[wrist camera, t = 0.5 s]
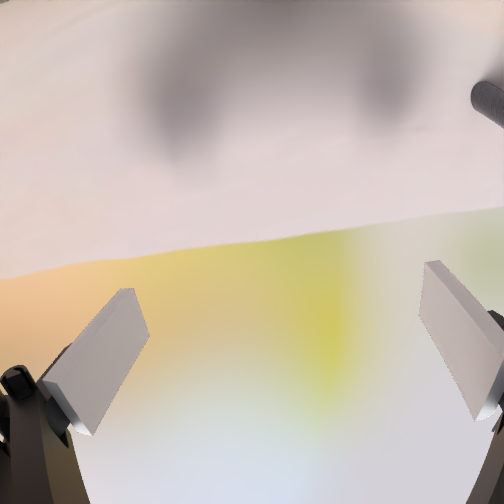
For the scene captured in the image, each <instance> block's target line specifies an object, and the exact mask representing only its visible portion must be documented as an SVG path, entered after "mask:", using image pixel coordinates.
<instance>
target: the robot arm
mask: <svg viewBox="0 0 504 504" xmlns="http://www.w3.org/2000/svg"><path fill="white" fill-rule="evenodd" d="M7 1H9V0H0V4H1V3H4V2H7ZM419 317H420V319H421V320H422V322H423V324H424V325H425V327H426V329H427V330H428V332H429V334H430V336H431V337H432V339H433V341H434V343H435V344H436V346H437V348H438V350H439V352H440V354H441V355H442V357H443V359H444V361H445V363H446V365H447V367H448V368H449V370H450V372H451V374H452V376H453V378H454V380H455V382H456V384H457V386H458V388H459V390H460V392H461V394H462V396H463V398H464V400H465V402H466V404H467V406H468V409H469V410H470V413H471V415H472V417H473V419H474V421H475V422H476V421H479V420H481V419H484V418H487V417H490V416H492V415H493V413H494V411H495V410H496V408H497V406H498V404H499V405H500V407H501V408H502V411H503V412H502V414H501V416H500V417H499V419H498V421H497V422H496V424H495V426H494V428H493V429H492V432H494V431H495V433H494V436H493V440H492V442H491V445H490V448H489V451H488V453H487V456H486V459H485V461H484V464H483V466H482V469H481V471H480V474H479V476H478V478H477V481H476V483H475V485H474V488H473V490H472V492H471V494H470V496H469V498H468V500H467V502H466V504H504V317H503V316H501V315H500V314H498V313H496V312H495V311H493V310H491V311H486V310H485V309H484V307H483V306H482V305H481V304H480V303H479V302H478V301H477V300H476V298H475V297H474V296H473V295H472V294H471V293H470V292H469V291H468V290H467V289H466V287H465V286H464V285H463V284H462V283H461V282H460V281H459V280H458V279H457V278H456V277H455V276H454V275H453V274H452V273H451V272H450V270H449V269H448V268H447V267H446V266H445V265H444V264H443V263H442V262H441V261H439V260H438V261H430V262H425V264H424V276H423V287H422V295H421V303H420V311H419ZM149 337H150V334H149V332H148V329H147V326H146V323H145V320H144V318H143V315H142V312H141V309H140V306H139V303H138V300H137V297H136V294H135V291H134V288H125V289H120V290H119V291H118V292H117V293H116V294H115V295H114V296H113V297H112V298H111V300H110V301H109V302H108V303H107V304H106V305H105V306H104V307H103V308H102V310H101V311H100V312H99V313H98V314H97V315H96V316H95V318H94V319H93V320H92V321H91V322H90V323H89V324H88V326H87V327H86V328H85V329H84V330H83V331H82V332H81V334H80V335H79V336H78V337H77V338H76V339H75V340H74V342H72V343H71V344H70V345H68V346H67V347H66V348H64V349H63V351H62V352H61V353H60V354H59V355H58V357H57V358H56V359H55V360H54V362H53V364H51V365H50V366H49V367H48V369H47V370H46V371H45V372H44V374H43V375H42V376H41V377H40V379H39V380H38V381H37V382H36V383H35V381H34V379H33V378H32V376H31V374H30V373H29V371H28V370H27V368H26V367H25V366H24V365H17V366H14V367H12V368H9V369H8V370H7V371H6V372H4V374H3V375H2V376H1V378H0V383H1V384H2V386H3V387H4V389H5V390H6V392H7V393H8V395H4V394H3V393H2V391H1V390H0V434H1V435H2V436H3V437H4V440H3V442H1V441H0V504H90V501H89V498H88V495H87V493H86V489H85V486H84V483H83V480H82V476H81V473H80V469H79V466H78V462H77V458H76V455H75V451H74V446H73V442H72V438H71V434H70V432H69V430H68V429H67V427H68V425H69V424H70V423H71V424H72V425H73V427H74V428H75V429H76V431H77V432H78V433H82V434H86V435H90V436H93V435H94V433H95V431H96V429H97V427H98V426H99V424H100V422H101V420H102V418H103V417H104V415H105V413H106V411H107V409H108V408H109V406H110V404H111V402H112V401H113V399H114V397H115V395H116V393H117V392H118V390H119V388H120V386H121V385H122V383H123V381H124V379H125V378H126V376H127V374H128V373H129V371H130V369H131V367H132V366H133V364H134V362H135V361H136V359H137V357H138V355H139V354H140V352H141V350H142V349H143V347H144V345H145V344H146V342H147V340H148V339H149ZM495 429H496V430H495Z"/></svg>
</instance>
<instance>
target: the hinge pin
mask: <svg viewBox="0 0 504 504" xmlns="http://www.w3.org/2000/svg"><path fill="white" fill-rule="evenodd" d="M471 102H472V105H473V107H474V108H475V110H477V111H478V112H480V113H481V114H483V115H484V116H486V117H487V118H489V119H491V120H492V121H493V122H495V123H496V124H498V125H499V126H501V127H502V128H504V91H502V90H500V89H499V88H497V87H495V86H493V85H491V84H489V83H487V82H479V83H477V84H476V85H475V86H474V88H473V89H472V93H471Z"/></svg>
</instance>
